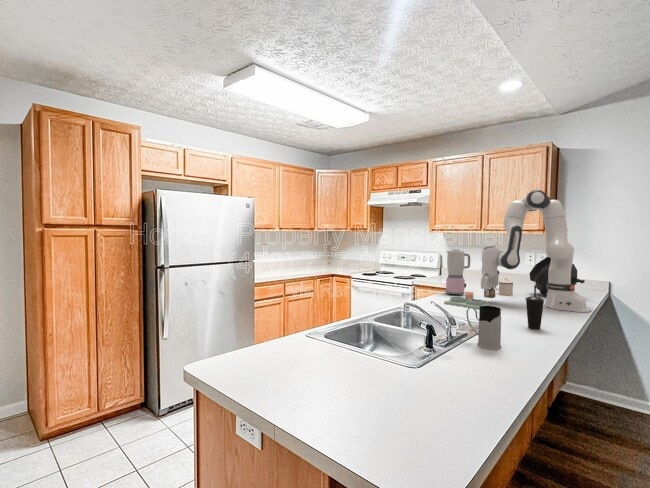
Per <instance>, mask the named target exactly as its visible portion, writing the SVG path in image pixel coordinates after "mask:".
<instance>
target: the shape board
mask: <svg viewBox="0 0 650 488" xmlns="http://www.w3.org/2000/svg"><path fill="white" fill-rule="evenodd" d="M443 304H444V305H448V304H449V306H454V305H456V307H460V306H462V307H463V308H467V307H468V308H470V309H472V308H475V309H476V310H479V308H480V306H491V303H489V302H487V300H483V299H479V298H473V299H469V300H466V298H465V296H464V297H463V296H451V297H449V299H448V300H444V302H443ZM471 307H472V308H471ZM468 308H467V309H468Z"/></svg>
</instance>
